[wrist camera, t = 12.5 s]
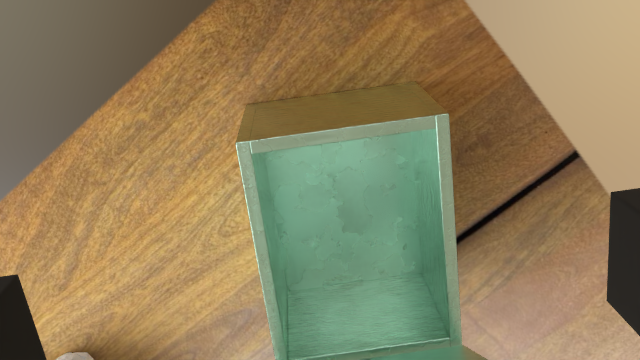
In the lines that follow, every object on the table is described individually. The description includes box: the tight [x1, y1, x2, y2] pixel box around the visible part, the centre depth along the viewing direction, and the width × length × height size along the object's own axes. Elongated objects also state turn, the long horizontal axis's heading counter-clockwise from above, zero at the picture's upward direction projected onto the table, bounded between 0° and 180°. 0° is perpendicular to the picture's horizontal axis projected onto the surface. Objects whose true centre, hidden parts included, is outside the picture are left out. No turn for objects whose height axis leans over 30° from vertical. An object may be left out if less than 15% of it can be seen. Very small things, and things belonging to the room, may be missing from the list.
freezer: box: [235, 82, 462, 360], centre depth 47 cm, size 18×14×11 cm
